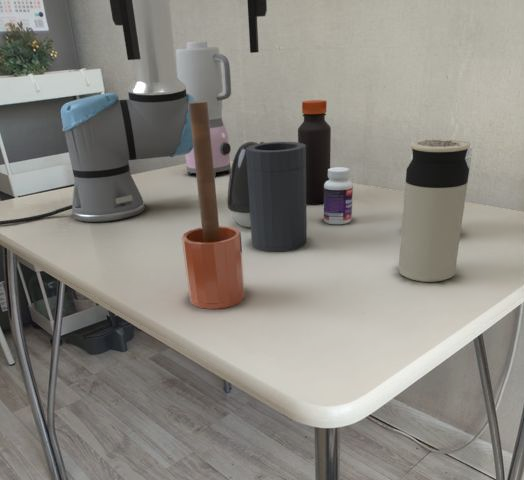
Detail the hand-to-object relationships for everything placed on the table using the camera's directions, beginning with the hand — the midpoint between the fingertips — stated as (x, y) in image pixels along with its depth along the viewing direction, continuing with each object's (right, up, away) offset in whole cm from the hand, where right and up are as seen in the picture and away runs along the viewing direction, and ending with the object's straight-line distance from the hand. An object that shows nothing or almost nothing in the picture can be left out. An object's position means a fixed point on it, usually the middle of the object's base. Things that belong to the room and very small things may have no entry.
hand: (194, 56), depth 59 cm
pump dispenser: (+6, -8, +45) cm, 46 cm away
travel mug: (+32, -22, +19) cm, 43 cm away
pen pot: (+1, -26, +15) cm, 29 cm away
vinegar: (+19, 0, +58) cm, 61 cm away
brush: (+1, -25, +14) cm, 29 cm away
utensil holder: (+11, -14, +34) cm, 38 cm away
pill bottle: (+22, -8, +44) cm, 50 cm away
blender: (-6, +16, +89) cm, 91 cm away
